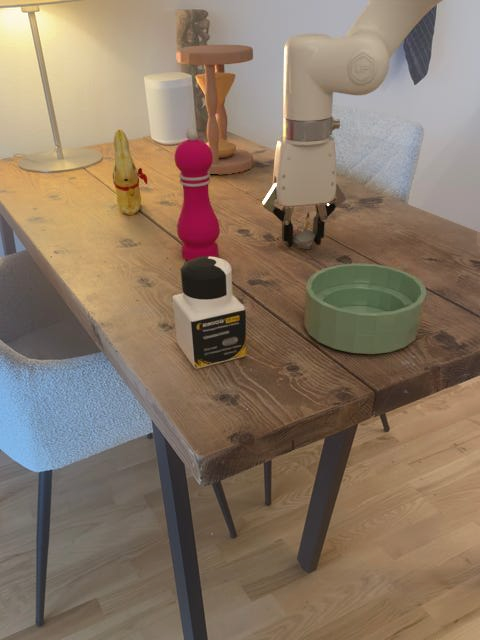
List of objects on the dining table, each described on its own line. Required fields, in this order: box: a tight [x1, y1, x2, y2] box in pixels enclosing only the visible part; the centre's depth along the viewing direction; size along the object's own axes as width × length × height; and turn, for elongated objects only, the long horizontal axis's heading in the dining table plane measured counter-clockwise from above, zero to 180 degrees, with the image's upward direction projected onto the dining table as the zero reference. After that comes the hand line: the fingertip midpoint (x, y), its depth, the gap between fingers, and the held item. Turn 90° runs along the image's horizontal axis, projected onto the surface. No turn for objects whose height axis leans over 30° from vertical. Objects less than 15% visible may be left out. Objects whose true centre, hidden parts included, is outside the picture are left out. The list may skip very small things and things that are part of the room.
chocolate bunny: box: [112, 129, 148, 216], centre depth 114 cm, size 7×11×15 cm, turn 11°
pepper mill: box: [174, 128, 221, 261], centre depth 92 cm, size 7×7×20 cm
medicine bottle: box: [171, 256, 247, 370], centre depth 70 cm, size 7×7×12 cm
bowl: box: [303, 262, 428, 355], centre depth 76 cm, size 15×15×6 cm
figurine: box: [292, 211, 315, 250], centre depth 99 cm, size 5×4×6 cm
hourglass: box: [175, 44, 255, 176], centre depth 136 cm, size 18×18×25 cm
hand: (302, 242), depth 100 cm, fingers closed on figurine, 4 cm apart
